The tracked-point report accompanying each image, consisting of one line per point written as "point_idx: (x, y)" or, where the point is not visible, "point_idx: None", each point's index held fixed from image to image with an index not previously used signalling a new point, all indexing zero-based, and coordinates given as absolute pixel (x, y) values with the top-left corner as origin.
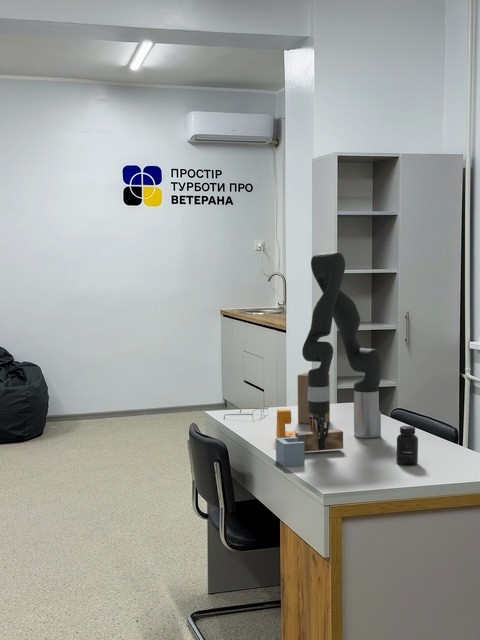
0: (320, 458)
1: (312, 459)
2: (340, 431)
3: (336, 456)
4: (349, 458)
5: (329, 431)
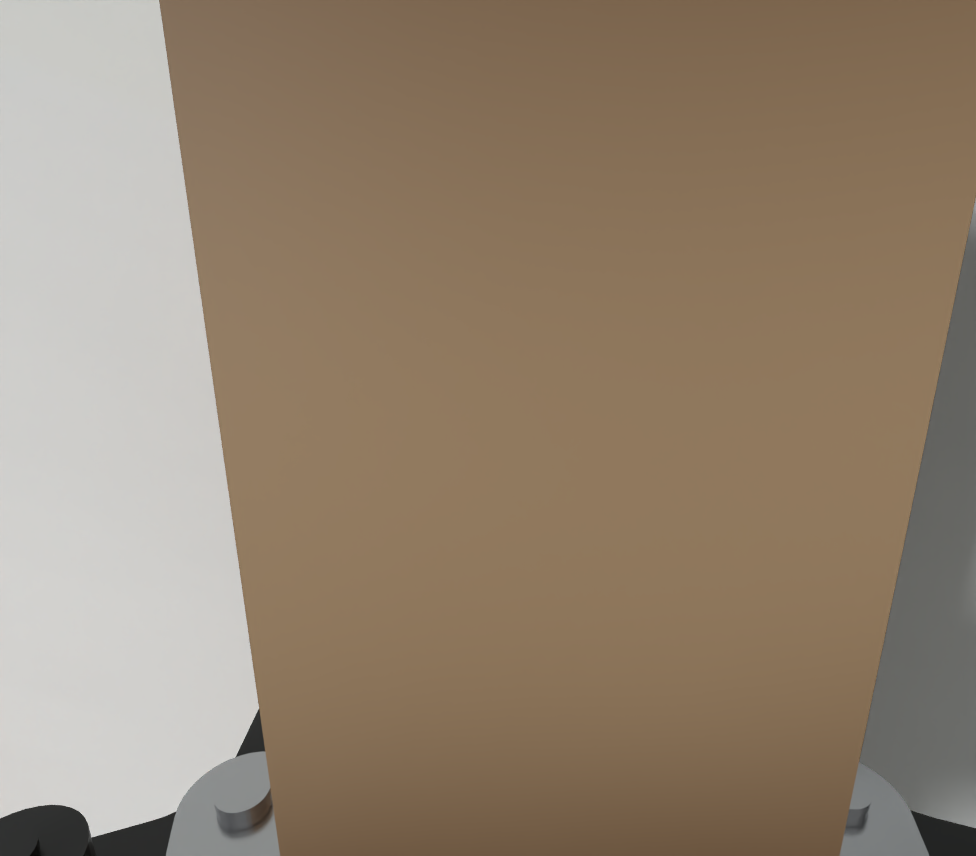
0: (961, 703)
1: (958, 821)
2: (920, 11)
3: (971, 407)
4: None
5: (609, 657)
